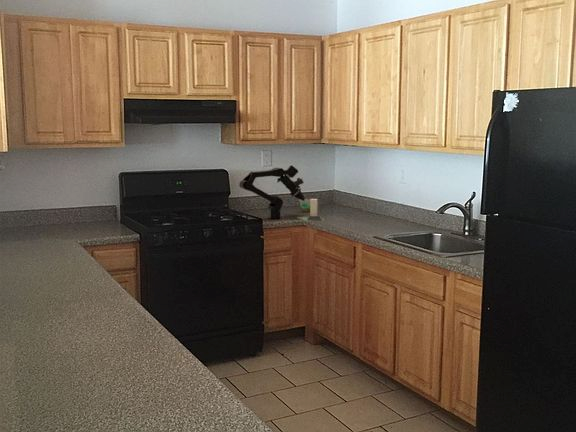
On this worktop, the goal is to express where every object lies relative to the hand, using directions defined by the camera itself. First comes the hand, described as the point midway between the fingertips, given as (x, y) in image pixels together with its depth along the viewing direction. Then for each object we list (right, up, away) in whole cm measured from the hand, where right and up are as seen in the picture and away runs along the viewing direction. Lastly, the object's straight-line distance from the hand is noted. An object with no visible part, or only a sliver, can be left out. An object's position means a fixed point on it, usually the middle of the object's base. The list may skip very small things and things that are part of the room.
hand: (304, 199), depth 437 cm
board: (+4, -13, -4) cm, 15 cm away
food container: (+2, -9, +25) cm, 27 cm away
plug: (+6, -12, +1) cm, 13 cm away
